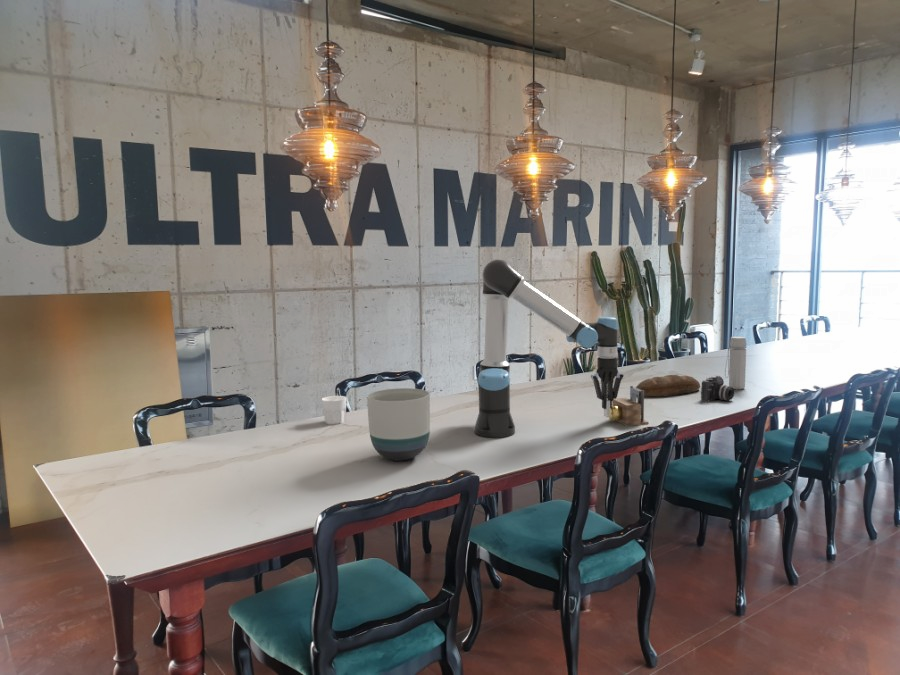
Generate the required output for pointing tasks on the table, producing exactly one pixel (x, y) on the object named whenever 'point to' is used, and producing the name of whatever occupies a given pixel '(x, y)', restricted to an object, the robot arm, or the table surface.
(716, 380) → the camera
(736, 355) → the water bottle
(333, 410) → the cup
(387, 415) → the planter
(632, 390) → the keeper
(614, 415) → the pin
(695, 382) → the bread
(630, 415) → the block
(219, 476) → the table surface
